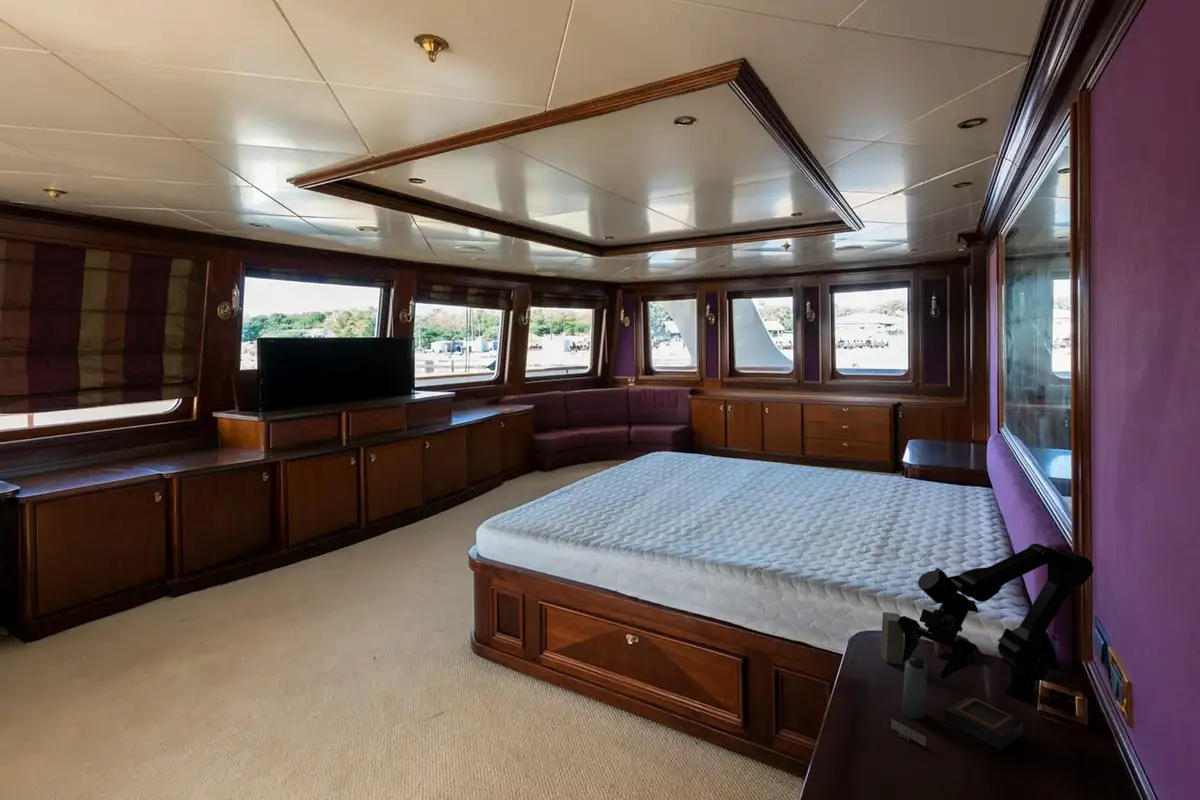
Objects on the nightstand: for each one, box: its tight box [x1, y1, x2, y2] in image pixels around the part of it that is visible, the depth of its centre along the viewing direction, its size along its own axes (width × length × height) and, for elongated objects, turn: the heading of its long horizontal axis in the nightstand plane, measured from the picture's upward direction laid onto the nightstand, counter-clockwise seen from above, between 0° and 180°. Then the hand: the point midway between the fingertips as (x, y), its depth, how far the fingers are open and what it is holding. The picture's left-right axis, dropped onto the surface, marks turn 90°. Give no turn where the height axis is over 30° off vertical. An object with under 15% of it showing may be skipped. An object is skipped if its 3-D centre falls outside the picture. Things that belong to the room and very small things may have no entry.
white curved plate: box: [890, 718, 927, 747], centre depth 137 cm, size 4×8×3 cm, turn 34°
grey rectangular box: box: [944, 696, 1024, 751], centre depth 141 cm, size 10×12×4 cm
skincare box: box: [880, 611, 905, 665], centre depth 172 cm, size 6×4×12 cm
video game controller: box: [933, 634, 971, 658], centre depth 176 cm, size 10×5×7 cm, turn 71°
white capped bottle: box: [901, 655, 929, 720], centre depth 146 cm, size 5×5×14 cm
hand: (922, 669), depth 148 cm, fingers open, 9 cm apart
